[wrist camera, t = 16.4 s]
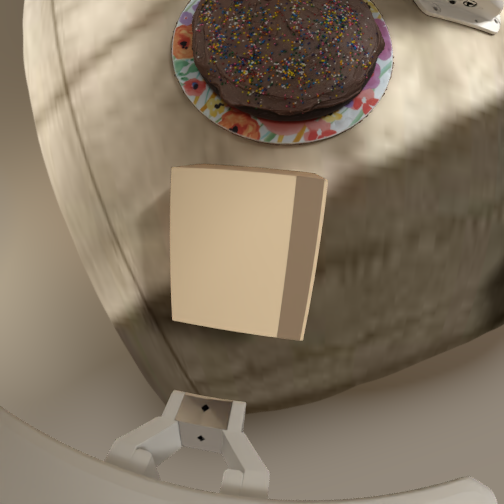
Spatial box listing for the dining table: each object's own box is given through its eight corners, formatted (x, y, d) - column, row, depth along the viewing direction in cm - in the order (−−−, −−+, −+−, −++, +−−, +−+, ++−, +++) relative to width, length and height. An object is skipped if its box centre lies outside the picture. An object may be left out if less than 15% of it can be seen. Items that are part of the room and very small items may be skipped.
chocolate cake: (135, 51, 31) (112, 38, 25) (282, -59, 24) (282, -84, 17) (278, 192, 36) (277, 199, 30) (428, 66, 28) (451, 54, 22)
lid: (326, 179, 25) (327, 180, 24) (302, 336, 30) (302, 340, 29) (174, 166, 27) (171, 167, 26) (175, 316, 32) (172, 320, 31)
